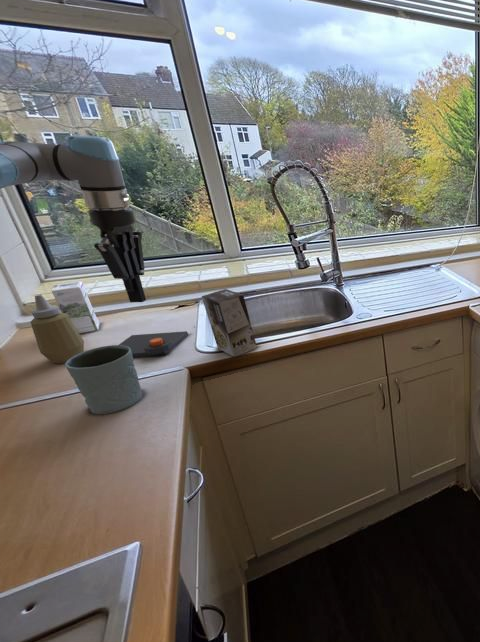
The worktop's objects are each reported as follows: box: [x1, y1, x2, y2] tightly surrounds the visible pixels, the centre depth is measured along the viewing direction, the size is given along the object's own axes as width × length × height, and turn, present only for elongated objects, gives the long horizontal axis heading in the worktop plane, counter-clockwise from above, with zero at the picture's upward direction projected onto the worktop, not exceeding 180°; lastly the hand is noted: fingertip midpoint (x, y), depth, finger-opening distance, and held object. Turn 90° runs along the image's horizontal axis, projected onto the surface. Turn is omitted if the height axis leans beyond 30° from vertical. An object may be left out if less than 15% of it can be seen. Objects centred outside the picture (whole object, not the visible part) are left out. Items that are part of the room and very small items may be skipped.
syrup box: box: [51, 280, 100, 335], centre depth 119 cm, size 6×6×14 cm
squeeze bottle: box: [30, 294, 85, 364], centre depth 104 cm, size 8×8×18 cm
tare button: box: [150, 338, 164, 347], centre depth 109 cm, size 3×3×2 cm
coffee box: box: [201, 288, 257, 358], centre depth 111 cm, size 9×6×16 cm
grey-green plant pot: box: [64, 344, 143, 415], centre depth 88 cm, size 10×10×12 cm
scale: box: [118, 330, 189, 359], centre depth 112 cm, size 15×13×3 cm
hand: (138, 300), depth 103 cm, fingers closed
